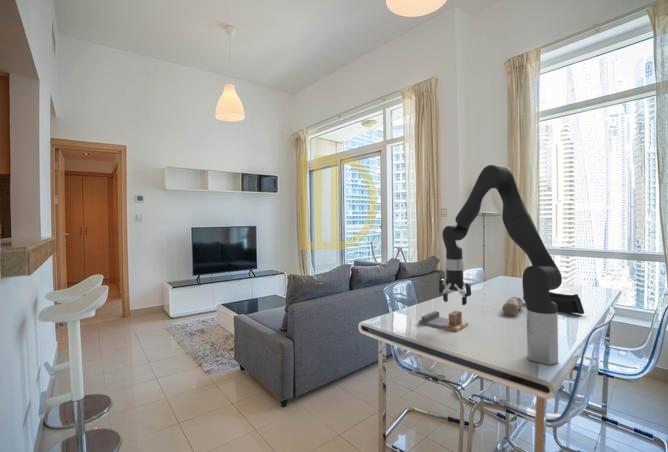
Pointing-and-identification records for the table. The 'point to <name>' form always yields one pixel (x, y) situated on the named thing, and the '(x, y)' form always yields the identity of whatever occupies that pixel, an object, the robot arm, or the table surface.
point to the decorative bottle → (512, 306)
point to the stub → (455, 322)
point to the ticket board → (434, 320)
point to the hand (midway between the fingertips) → (454, 303)
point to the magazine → (567, 303)
